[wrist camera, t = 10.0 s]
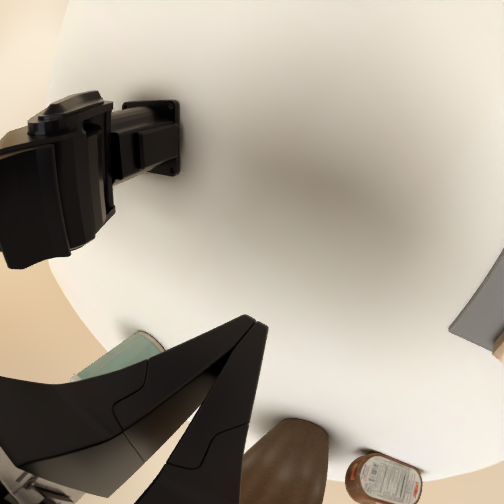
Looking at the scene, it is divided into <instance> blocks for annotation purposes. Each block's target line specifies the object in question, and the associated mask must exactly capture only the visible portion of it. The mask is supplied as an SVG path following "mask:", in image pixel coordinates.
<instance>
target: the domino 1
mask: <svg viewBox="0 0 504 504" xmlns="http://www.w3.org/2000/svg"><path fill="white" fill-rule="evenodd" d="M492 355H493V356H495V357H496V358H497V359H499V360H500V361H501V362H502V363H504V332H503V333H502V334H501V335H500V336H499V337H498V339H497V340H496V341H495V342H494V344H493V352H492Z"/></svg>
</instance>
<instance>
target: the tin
mask: <svg viewBox="0 0 504 504" xmlns="http://www.w3.org/2000/svg"><path fill="white" fill-rule="evenodd" d="M345 485H346V490H347V492H348V494H349V495H350V497H351V498H352V499H353V500H354V501H356V502H358V503H360V504H416V503H417V502H418V501H419V499H420V496H421V492H422V478H421V475H420V473H419V472H418V471H417V469H416V468H414V467H412V466H410V465H408V464H405V463H403V462H400V461H398V460H396V459H393V458H391V457H389V456H386V455H384V454H381V453H371V454H368V455H366V456H361V457H359V458H357V459H355V460H354V461H353V462H352V463H351V464H350V466H349V468H348V470H347V472H346V477H345Z"/></svg>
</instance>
